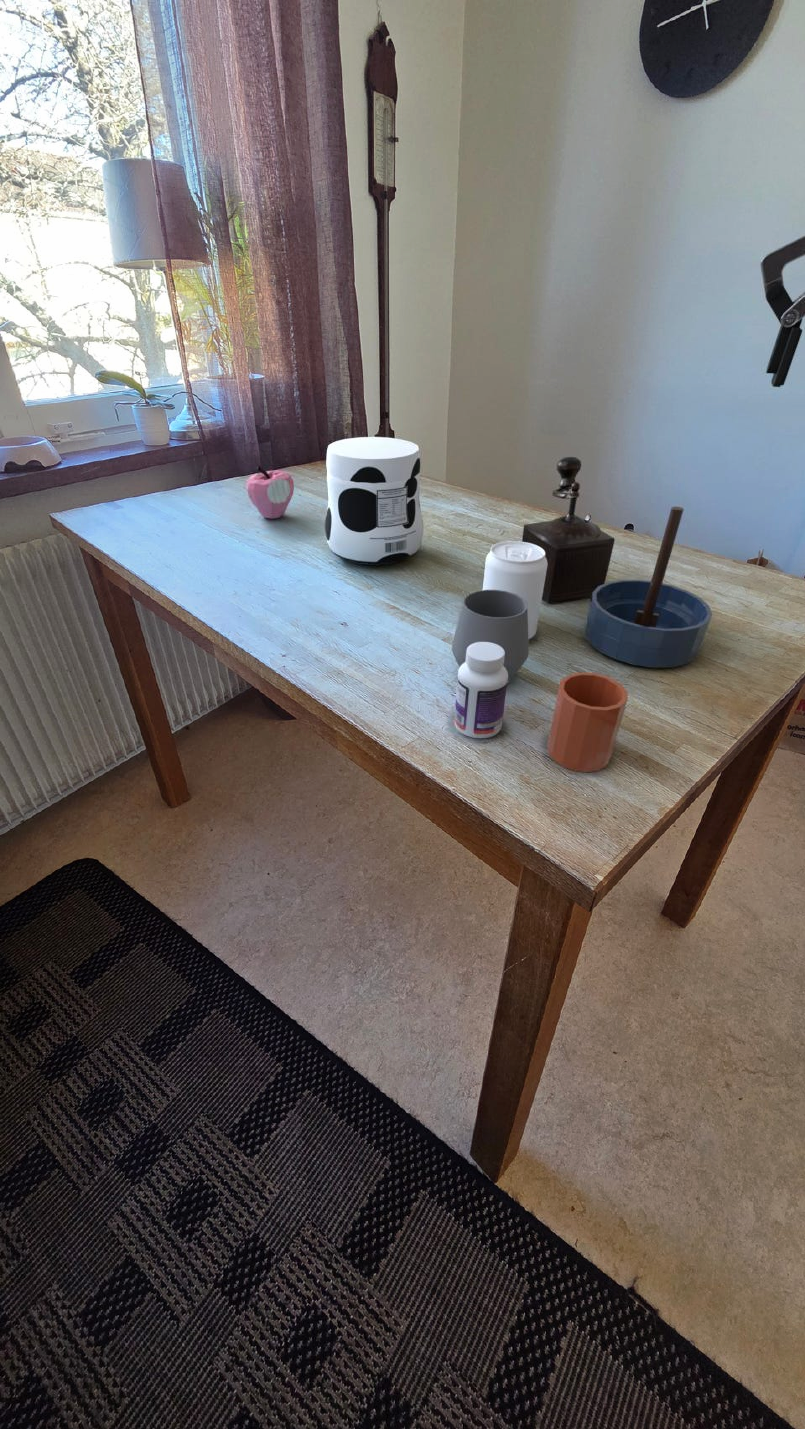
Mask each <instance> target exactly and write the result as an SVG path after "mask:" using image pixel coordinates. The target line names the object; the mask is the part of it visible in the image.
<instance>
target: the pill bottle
mask: <svg viewBox="0 0 805 1429" xmlns="http://www.w3.org/2000/svg"><path fill="white" fill-rule="evenodd" d="M504 657H505V651H504V649H503V648H502V647H501V646H499V645H497V644H494V643H490V642H477V643H473V644H471V645H470V646H468V648H467V651H466V662H465V663H463V664H462V665H461V666H460V667H458V670H457V678H456V690H455V706H454V726H455V728H456V730H457V731H459V733H460V734H462V735H464V736H467V737H469V738H472V739H488V738H492V737H494V736H495V735H498V733H499V732H500V731H501V729H502V726H503V721H504V712H505V704H506V697H507V691H508V690H507V689H508V684H509V683H508V682H509V681H508V672H507V670H506V668H505V667H504V666H503V664H504Z"/></svg>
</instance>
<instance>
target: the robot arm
mask: <svg viewBox="0 0 805 1429" xmlns="http://www.w3.org/2000/svg"><path fill="white" fill-rule="evenodd" d="M802 257H805V235H803V236H800V237H799V238H797V239H795V240H793V241H791V242H789V243H787V244H785V245H783V246H781V247H779V248H776V249H775V250H773V251H770V252H769V253H767V254H765V255H764V256H763V257H762V258H761V260H760V263H759V265H760V273H761V278H762V279H761V280H762V285H763V289H764V290H763V291H764V298H765V300H766V302H767V304H768V305H769V307H770V309H771V310H772V312H773V314H774V315H775V317H776V319H777V321H778V322H779V325H780V327H779V331H778V332H777V336H776V339H775V342H774V345H773V348H772V351H771V355H770V358H769V361H768V362H767V367H766V371H765V373H766V374H772V378H771V381H770V384H771V386H772V387H773V388H781V387H782V386H784V385H785V382H786V380H787V377H788V374H789V371H790V369H791V365H792V363H793V360H794V357H795V354H796V351H797V348H798V345H799V342H800V339H801V337H802V334H803V329H802V328H801V326H802V322H803V318H805V290H804V291H803V292H802V293H801V294H800V295H798V296H797V297H796V298H795V299H794V300H792V298H791V297H790V295H789V293H788V291H787V288H785V284H784V277H783V271H784V268H786V266H787V265H788V264H791V263H792V262H794V261H797V260H798V259H800V258H802Z"/></svg>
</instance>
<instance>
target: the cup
mask: <svg viewBox="0 0 805 1429" xmlns="http://www.w3.org/2000/svg"><path fill="white" fill-rule="evenodd" d="M477 642H490V643H494V644H497V645H499V646H501V647H502V648H503V649H504V651H505V657H504V664H503V666H504V667H505V668H506V670H507V672H508V682H510V681H511V680H512V679H513V678H514V676H515V675H516V674H517V672H518V671H519V670H521V668H522V667H523V665H524V664H525V662H526V661H527V659H528V658H529V654H530V653H529V652H530V651H529V639H528V613H527V603H526V601H525V600H524V599H523V598H521V597H520V596H518V595H516V594H513V593H510V592H507V591H501V590H483V589H481V590H475V591H473V592H471V593H468V594H467V595H466V596H465V597H464V598H463V601H462V605H461V609H460V612H459V616H458V619H457V624H456V627H455V632H454V634H453V639H452V643H451V644H452V645H451V652H452V655H453V657H454V659H455V661H456V663H457V665H458V668H460V666H461V665H462V664H463V663H465V662H466V651H467V648H468V646H470V645H471V644H473V643H477Z"/></svg>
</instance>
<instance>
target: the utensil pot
mask: <svg viewBox="0 0 805 1429" xmlns="http://www.w3.org/2000/svg"><path fill="white" fill-rule="evenodd" d="M627 703H628V691H627V690H626V688H625V687H624V686H623V685H622V684H621V682H619V681H617V680H616V679H613V678H611V677H609V676H608V675H607V676H606V675H603V674H599V673H596V672H584V671H583V672H581V671H580V672H575V673H570V674H568V675H566V676H564V677H563V678H561V680H560V681H559V684H558V688H557V694H556V700H555V705H554V709H553V714H552V719H551V724H550V729H549V733H548V739H547V745H546V750H547V753H548V755H549V757H550V758H551V759H552V760H553V761H554V762H555V763H556V764H558V766H561V767H562V768H565V769H568V770H570V771H575V772H578V773H579V772H581V773H591V772H597V771H600V770H602V769H603V768H605V767H606V766H608V764H609V762H610V760H611V758H612V755H613V752H614V748H615V744H616V741H617V738H618V735H619V731H620V728H621V725H622V721H623V718H624V714H625V710H626V708H627Z"/></svg>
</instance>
